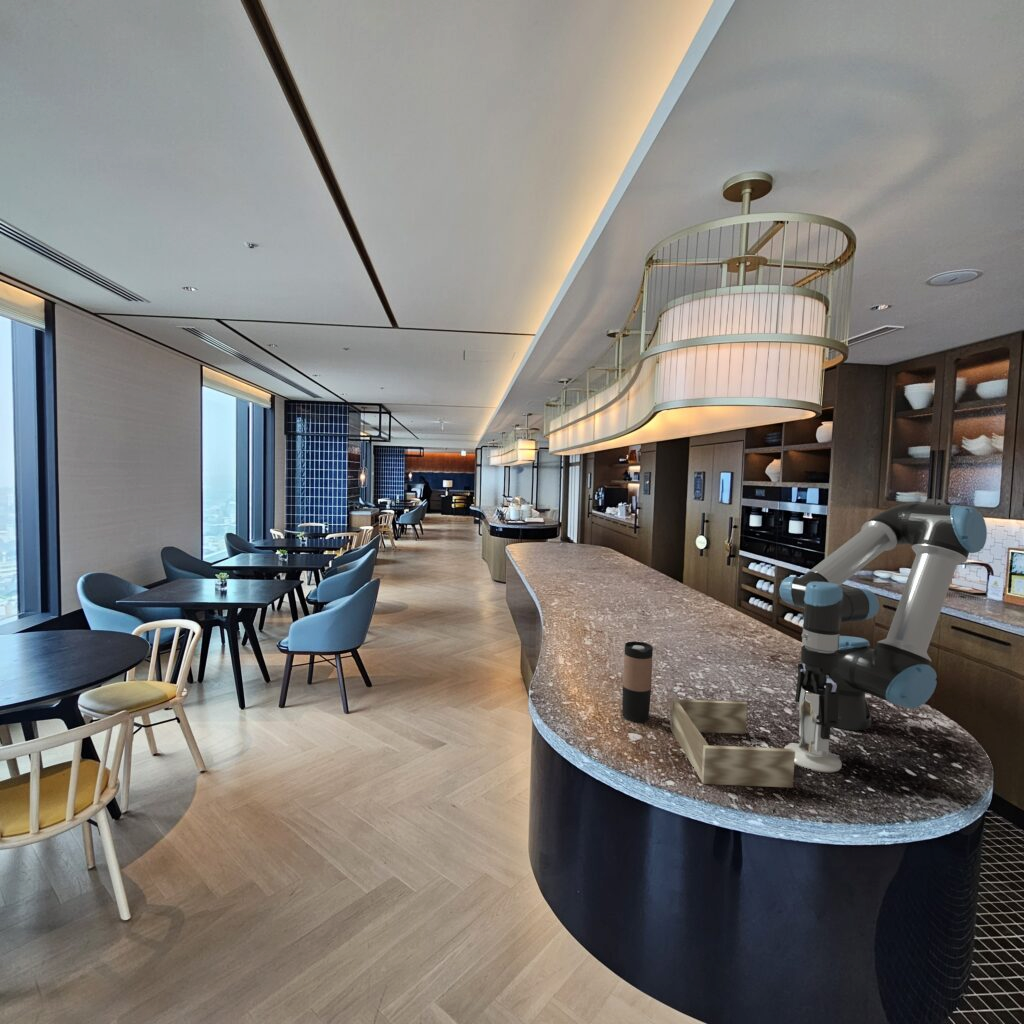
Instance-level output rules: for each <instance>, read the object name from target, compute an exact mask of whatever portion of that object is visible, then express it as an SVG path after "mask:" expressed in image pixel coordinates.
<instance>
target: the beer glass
mask: <svg viewBox="0 0 1024 1024" xmlns="http://www.w3.org/2000/svg"><path fill="white" fill-rule="evenodd" d="M805 687H806V686H805V685H802V686H801V693H800V700H799V703H798V714H799V724H800V723H801V736H800V740H799V743H798V744H799V746H798V747H799V749H800V750H801V751H802V752H803V753H805V754H808V755H810V756H814V757H825V756H827V754H828V752H825V751H816V750H815V740H816V725H817V723H816V722H819V715H818V713H819V694H815V693H811V692H809V691H806V690H805ZM819 690H825V689H819ZM820 696H821V697H822V698H824V696H825V695H820Z"/></svg>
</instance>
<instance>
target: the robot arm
mask: <svg viewBox="0 0 1024 1024" xmlns="http://www.w3.org/2000/svg"><path fill="white" fill-rule="evenodd" d="M987 535H988V531H987V525H986V521H985V519H984V516H983V515H982V513H981V512H980V511H979V510H977V508H975V507H972V506H966V505H965V506H964V505H958V504H953V505H952V504H935V503H934V504H931V503H930V504H929V503H914V502H909V503H904V504H900V505H896V506H893V507H891V508H888V509H885V510H883V511H882V512H880V513H878V514H876V515H874V516H873V517H871V518H870V519H869V520H867V521H866V522H865V523H863V524H862V526H861V528H860V531H859V532H858V533H857V534H855V535H854V536H852V537H851V538H850V539H849V540H847V541H846V542H845V543H844V544H842V545H841V546H840V547H838V548H837V549H836V550H834V551H833V552H832V553H831V554H829V555H828V556H827V557H826V558H824V559H823V560H821V561H820V562H819V563H818V564H816V565H815V566H813V568H811V569H810V570H808V571H807V572H806V573H805V574H804V575H802V576H801V577H798V576H787V577H785V578H784V579H783V580H782V582H781V583H780V586H779V596H780V598H781V600H782V601H783V602H784V603H786V604H788V605H791V606H794V607H797V608H802V609H803V624H802V633H801V644H802V646H801V650H800V651H801V652H800V661H801V663H798V664H797V681H796V690H795V702H796V703H798V704H799V700H800V693H801V686H802V685H805V686H806V687H805V690H806V691H809V692H811V693H815V694H819V713H818V715H819V722H816V723H817V725H816V740H815V750H816V751H825V752H828V751H829V748H830V737H831V728H832V727H834V728H837V729H838V728H839V729H842V730H843V729H844V730H849V731H864V730H865V731H866V730H868V729H870V728H871V727H872V716H871V712H870V708H869V705H868V701H867V699H866V694H868V695H872V696H873V697H876V698H879V699H882V700H883V701H887V702H888V703H891V704H892V705H897V706H901V707H903V708H906V709H916V708H919V707H921V706H922V705H924V704H925V703H927V702H928V700H929V699H931V697H932V695H933V694H934V692H935V689H936V687H937V683H938V682H937V680H936V679H937V677H938V676H937V672H936V670H935V669H934V668H933V667H932V666H931V663H932V659H931V658H930V656H929V654H928V649H929V646H930V643H931V640H932V638H933V635H934V632H935V628H936V626H937V623H938V620H939V618H940V614H941V611H942V608H943V606H944V602H945V599H946V598H947V595H948V591H949V589H950V586H951V582H952V579H953V577H954V574H955V571H956V569H957V566H958V565H961V564H963V563H966V562H967V560H968V557H969V555H970V553H971V554H975V553H979V552H981V551H982V549H983V548H984V547H985V545H986V542H987V539H988V538H987ZM902 545H905V546H906V545H911V550H912V551H913V552H914V553H915V557H914V559H913V563H912V565H911V569H910V571H909V574H908V577H907V580H906V583H905V586H904V588H903V591H902V594H901V597H900V600H899V601H898V602H899V603H898V605H897V608H896V611H895V614H894V615H893V619H892V622H891V624H890V627H889V630H888V633H887V636H886V638H884V639H881V640H878V641H877V643H876V645H875V648H871V647H870V646H871V644H870V641H869V640H868V639H866V638H863V637H857V636H849V635H840V634H841V633H840V630H841V629H840V628H841V623H844V622H846V623H847V622H856V621H857V622H861V621H866V620H869V619H873V618H874V617H875V616H876V615H878V612H879V609H880V601H879V599H878V597H877V596H876V594H875V593H874V592H872V591H871V590H869V589H867V588H858V587H855V588H848V587H843V586H842V585H843V584H844V583H845V582H846V581H848V580H849V579H850V578H852V577H853V576H854V575H855V574H856V573H858V572H859V571H860V570H862V569H863V568H864V567H865V566H866V565H868V564H869V563H871V562H872V561H873V560H875V558H877V557H878V556H879V555H881V553H883V552H884V551H885V552H886V551H888V552H889V551H891V550H893V549H895V548H896V547H897V546H902ZM819 689H825V690H819ZM820 695H825V696H824V698H822V697H821V696H820ZM798 729H799V731H798V735H799V737H801V723H800V722H799V728H798Z"/></svg>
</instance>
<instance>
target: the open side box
mask: <svg viewBox="0 0 1024 1024" xmlns="http://www.w3.org/2000/svg"><path fill="white" fill-rule="evenodd" d="M747 712H748V703H747V702H746V701H732V700H731V701H730V700H729V701H728V700H708V699H707V700H706V699H705V700H704V699H701V700H700V699H679V698H674V699H673V698H671V709H670V727H669V728H670V731H671V732H672V735H673V736H674V738H675V739H676V741H677V742H678V744H679V746H680V748H681V749H682V751H683V752H684V754H685V756H686V757H687V759H688V760H689V762H690V764H691V766H692V768H693V767H694V768H693V769H694V771H695V773H696V772H697V773H696V775H698V777H699V779H700V781H701V783H702V784H703V785H717V786H719V785H721V786H722V785H723V786H741V787H742V786H744V787H745V786H746V787H748V786H749V787H770V788H771V787H773V788H794V775H795V773H794V772H795V763H794V762H795V751H794V750H793V749H785V748H781V747H760V746H759V747H758V746H757V747H756V746H755V747H753V746H735V745H734V746H729V745H709V743H708V742H707V741H706V739H705V738H704V736H703V735H702V733H713V734H714V733H716V734H719V733H720V734H722V733H723V734H743V735H744V734H745V735H746V732H747V730H746V729H747V714H748V713H747Z"/></svg>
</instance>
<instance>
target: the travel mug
mask: <svg viewBox="0 0 1024 1024" xmlns="http://www.w3.org/2000/svg"><path fill="white" fill-rule="evenodd" d="M653 649H654V647H653V645H651V644H649V643H647V642H642V641H628V642H626V643H625V644H624V653H623V654H624V658H623V673H622V674H623V675H622V697H621V698H622V704H621V705H622V706H621V707H622V708H621V709H622V711H621V713H622V717H623V718H624V719H625V720H627V721H630V722H632V721H633V722H632V723H645V722H647V721H649V717H650V708H651V707H650V706H651V705H650V704H651V695H652V693H651V692H652V680H653V679H652V677H653V675H652V674H653V655H654V653H653V652H654V651H653ZM644 721H645V722H644Z"/></svg>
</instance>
